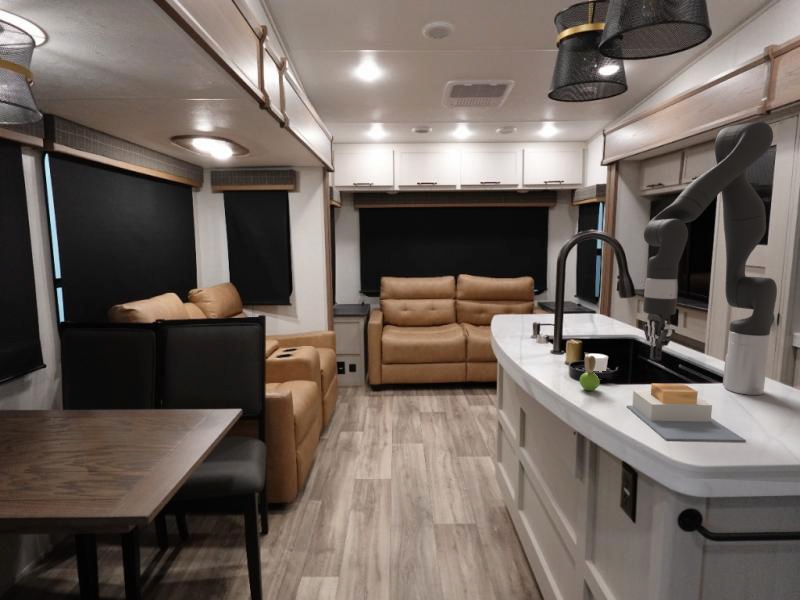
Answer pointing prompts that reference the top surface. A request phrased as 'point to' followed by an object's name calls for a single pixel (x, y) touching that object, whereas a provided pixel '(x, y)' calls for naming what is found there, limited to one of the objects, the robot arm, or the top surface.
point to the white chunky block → (599, 361)
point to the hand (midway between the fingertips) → (655, 359)
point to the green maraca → (589, 374)
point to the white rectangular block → (671, 409)
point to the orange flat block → (674, 393)
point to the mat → (690, 429)
